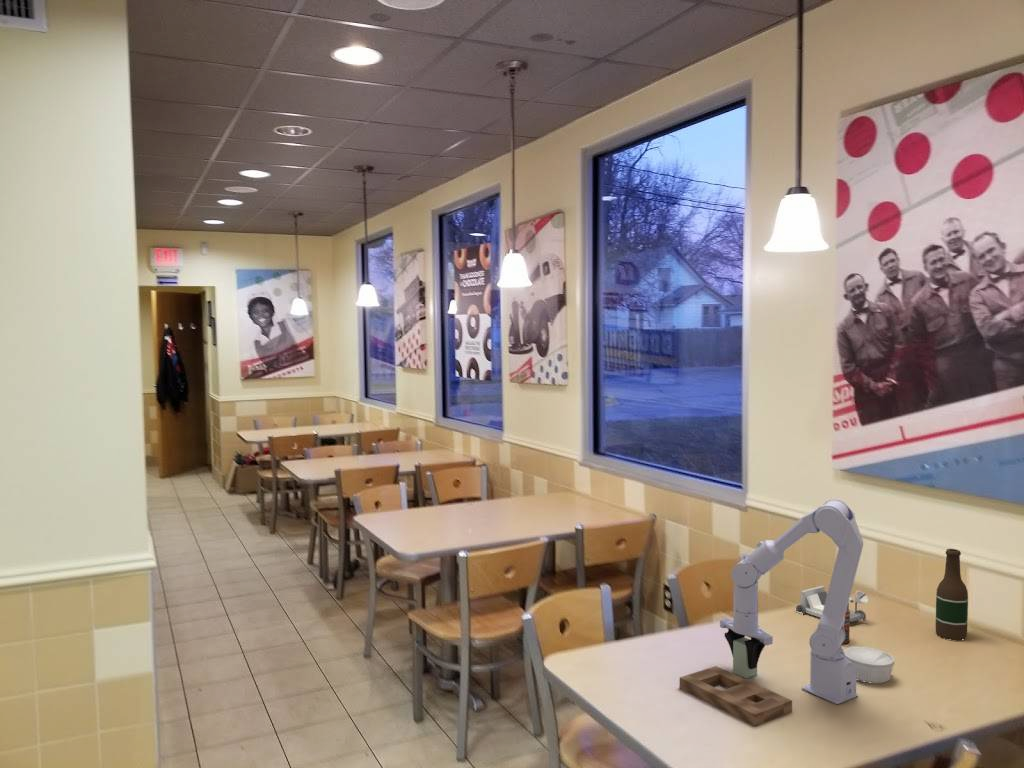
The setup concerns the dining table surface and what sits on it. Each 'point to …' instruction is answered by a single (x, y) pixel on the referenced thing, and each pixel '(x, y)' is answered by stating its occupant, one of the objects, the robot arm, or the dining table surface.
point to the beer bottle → (952, 600)
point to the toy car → (816, 600)
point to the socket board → (736, 695)
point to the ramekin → (870, 663)
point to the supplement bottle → (847, 626)
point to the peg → (741, 659)
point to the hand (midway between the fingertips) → (745, 664)
